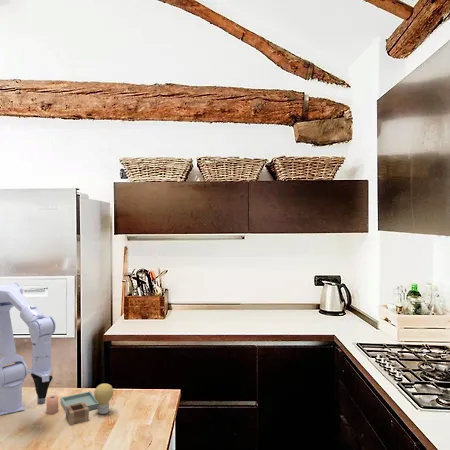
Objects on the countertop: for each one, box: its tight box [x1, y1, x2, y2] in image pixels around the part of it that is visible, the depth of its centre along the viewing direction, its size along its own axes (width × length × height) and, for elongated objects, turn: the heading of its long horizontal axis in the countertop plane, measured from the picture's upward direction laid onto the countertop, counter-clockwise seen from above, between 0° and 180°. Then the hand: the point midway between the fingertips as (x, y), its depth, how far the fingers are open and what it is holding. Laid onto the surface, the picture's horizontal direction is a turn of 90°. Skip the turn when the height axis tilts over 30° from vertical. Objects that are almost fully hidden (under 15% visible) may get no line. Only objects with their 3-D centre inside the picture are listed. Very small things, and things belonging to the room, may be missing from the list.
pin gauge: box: [36, 393, 46, 406], centre depth 136 cm, size 2×2×7 cm
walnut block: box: [65, 402, 90, 426], centre depth 140 cm, size 6×6×4 cm
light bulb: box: [93, 383, 114, 415], centre depth 145 cm, size 6×6×10 cm
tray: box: [59, 390, 99, 412], centre depth 151 cm, size 12×11×2 cm
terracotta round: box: [45, 394, 59, 415], centre depth 145 cm, size 4×4×5 cm
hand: (41, 396), depth 136 cm, fingers closed on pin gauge, 2 cm apart
